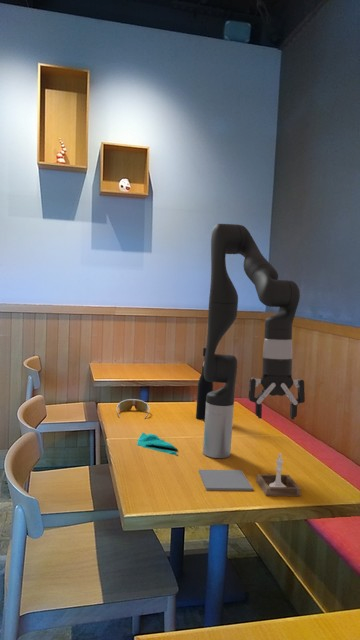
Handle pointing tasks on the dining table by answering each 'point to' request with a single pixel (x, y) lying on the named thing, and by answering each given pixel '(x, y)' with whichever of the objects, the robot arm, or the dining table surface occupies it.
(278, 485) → the chess piece
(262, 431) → the dining table surface
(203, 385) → the wine bottle
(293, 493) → the square frame
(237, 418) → the dining table surface
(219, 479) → the mat
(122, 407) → the sunglasses
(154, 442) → the cloth
